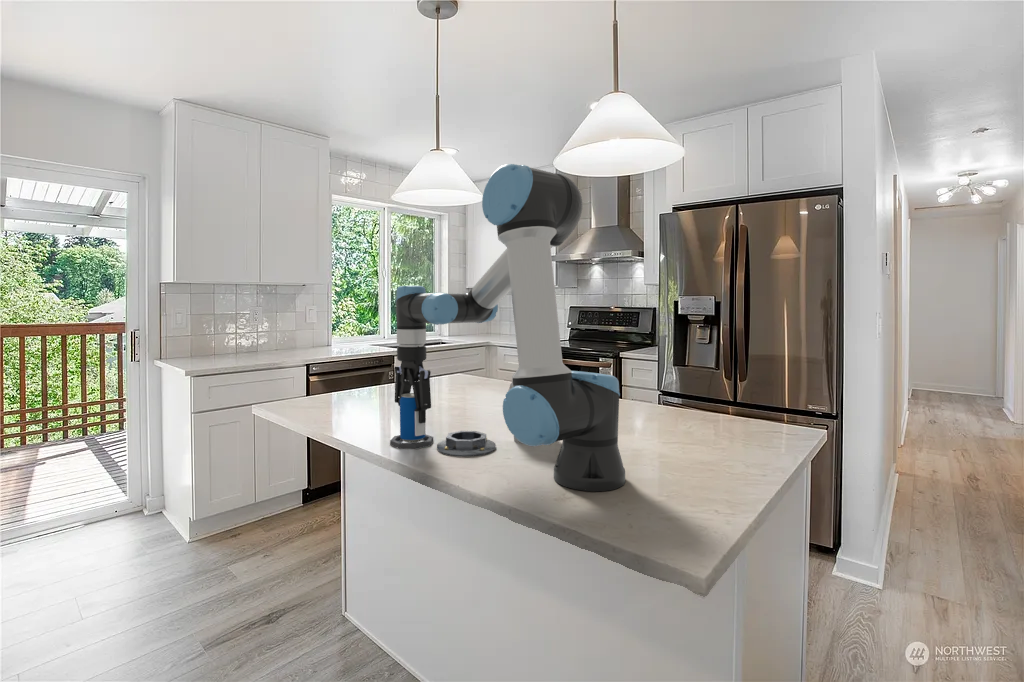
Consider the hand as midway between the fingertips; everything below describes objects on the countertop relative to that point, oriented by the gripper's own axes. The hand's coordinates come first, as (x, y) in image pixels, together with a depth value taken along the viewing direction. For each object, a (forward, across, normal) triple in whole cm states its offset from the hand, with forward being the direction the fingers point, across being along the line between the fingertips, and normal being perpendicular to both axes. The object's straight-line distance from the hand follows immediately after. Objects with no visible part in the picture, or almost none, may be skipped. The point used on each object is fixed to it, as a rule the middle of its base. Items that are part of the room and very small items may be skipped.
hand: (412, 432), depth 141 cm
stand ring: (+3, 0, 0) cm, 3 cm away
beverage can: (+2, 0, 0) cm, 2 cm away
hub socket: (+3, -13, -8) cm, 15 cm away
